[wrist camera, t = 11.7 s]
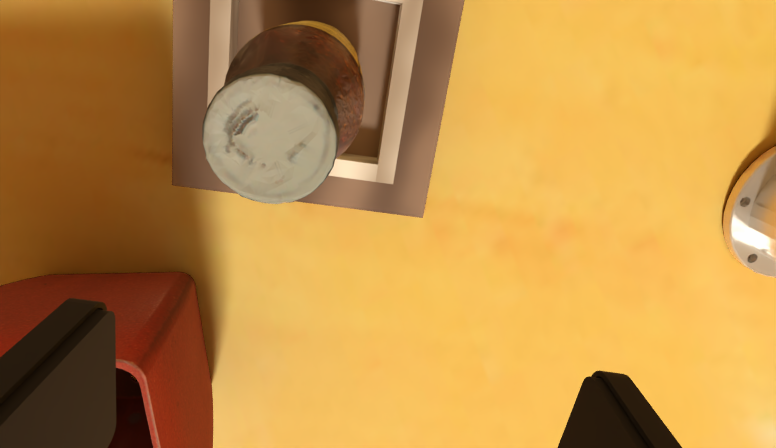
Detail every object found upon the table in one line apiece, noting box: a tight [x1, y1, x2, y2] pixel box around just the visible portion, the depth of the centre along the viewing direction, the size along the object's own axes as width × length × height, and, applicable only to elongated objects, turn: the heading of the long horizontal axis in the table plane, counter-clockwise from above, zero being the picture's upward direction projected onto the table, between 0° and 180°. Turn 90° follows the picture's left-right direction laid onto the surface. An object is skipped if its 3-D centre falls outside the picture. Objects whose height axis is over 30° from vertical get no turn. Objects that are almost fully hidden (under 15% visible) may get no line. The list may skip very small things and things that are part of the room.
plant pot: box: [0, 272, 213, 448], centre depth 36 cm, size 19×19×17 cm
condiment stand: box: [172, 0, 464, 218], centre depth 34 cm, size 18×18×6 cm
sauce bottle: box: [202, 21, 365, 204], centre depth 24 cm, size 6×6×20 cm
